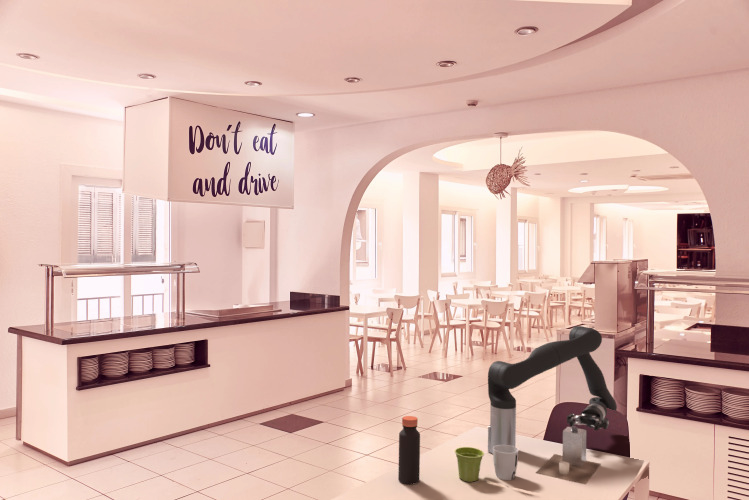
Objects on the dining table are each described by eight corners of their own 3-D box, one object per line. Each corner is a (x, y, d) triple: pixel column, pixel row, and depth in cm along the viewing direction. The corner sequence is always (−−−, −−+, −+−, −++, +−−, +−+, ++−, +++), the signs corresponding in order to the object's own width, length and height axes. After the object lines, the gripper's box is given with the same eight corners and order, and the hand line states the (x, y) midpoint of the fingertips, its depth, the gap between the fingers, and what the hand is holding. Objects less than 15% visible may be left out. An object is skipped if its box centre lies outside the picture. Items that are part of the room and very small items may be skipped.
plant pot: (484, 474, 188) (484, 448, 189) (482, 485, 179) (483, 458, 179) (455, 471, 191) (456, 445, 191) (453, 482, 181) (453, 455, 181)
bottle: (413, 486, 178) (414, 422, 178) (394, 481, 181) (395, 418, 181) (423, 479, 183) (424, 417, 184) (404, 474, 187) (405, 413, 187)
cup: (518, 485, 180) (519, 454, 180) (492, 483, 181) (492, 451, 181) (517, 476, 188) (517, 445, 188) (492, 473, 189) (492, 443, 189)
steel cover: (562, 462, 198) (562, 427, 198) (567, 457, 203) (567, 423, 203) (581, 466, 194) (581, 431, 194) (585, 461, 200) (586, 426, 200)
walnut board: (535, 475, 188) (535, 472, 188) (554, 456, 206) (554, 454, 206) (585, 487, 179) (585, 484, 179) (600, 466, 198) (600, 463, 198)
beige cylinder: (557, 474, 187) (557, 463, 187) (560, 471, 190) (560, 460, 190) (567, 476, 186) (567, 465, 186) (570, 473, 188) (570, 462, 188)
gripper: (574, 402, 226) (563, 412, 212) (612, 408, 218) (603, 418, 204) (574, 421, 226) (563, 432, 212) (612, 428, 218) (603, 439, 204)
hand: (583, 425), depth 208 cm, fingers open, 8 cm apart
